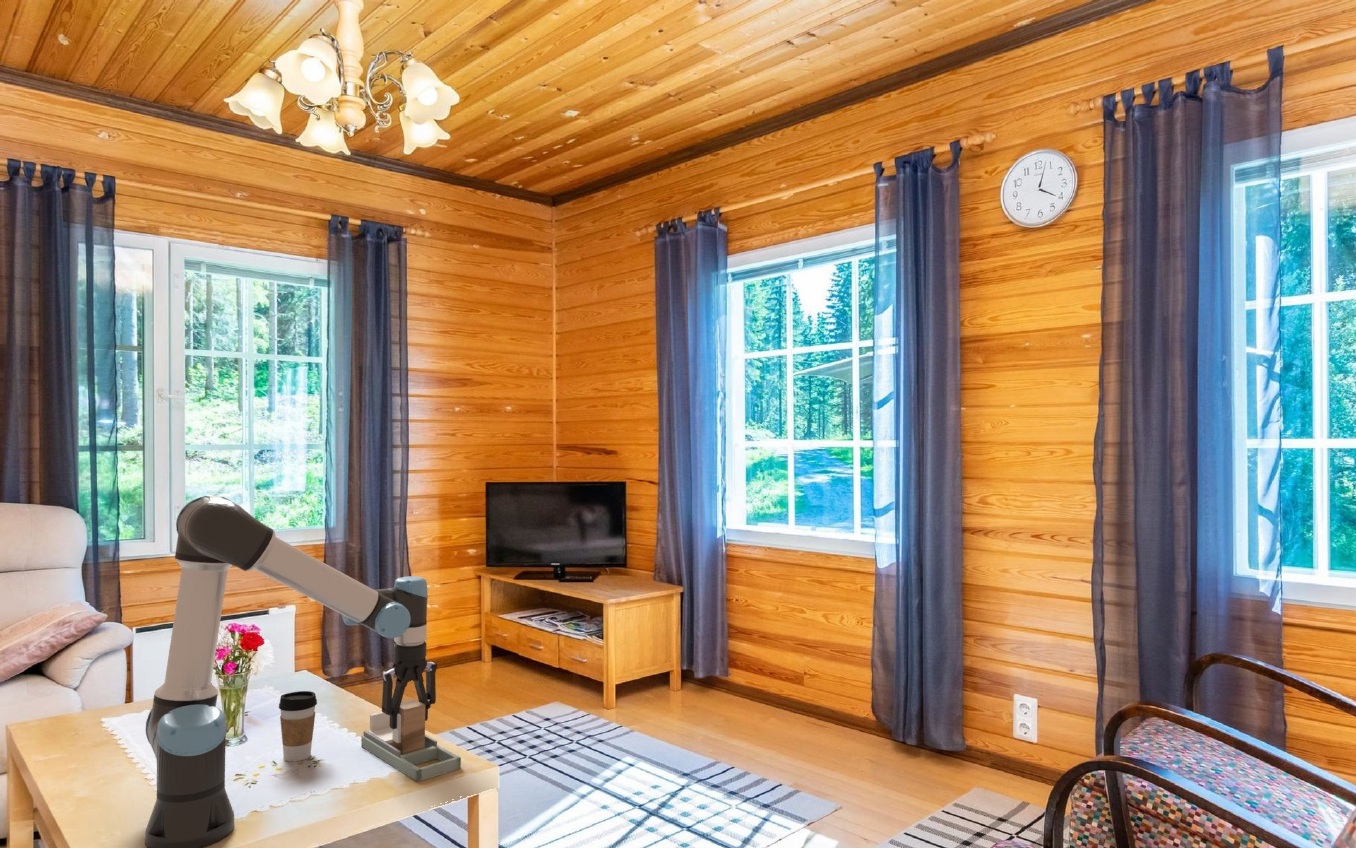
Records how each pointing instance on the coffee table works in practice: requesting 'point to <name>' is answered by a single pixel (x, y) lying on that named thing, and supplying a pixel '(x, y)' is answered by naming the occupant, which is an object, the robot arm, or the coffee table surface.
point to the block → (411, 727)
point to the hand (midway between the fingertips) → (408, 738)
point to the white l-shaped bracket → (381, 726)
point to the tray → (413, 757)
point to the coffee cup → (297, 724)
